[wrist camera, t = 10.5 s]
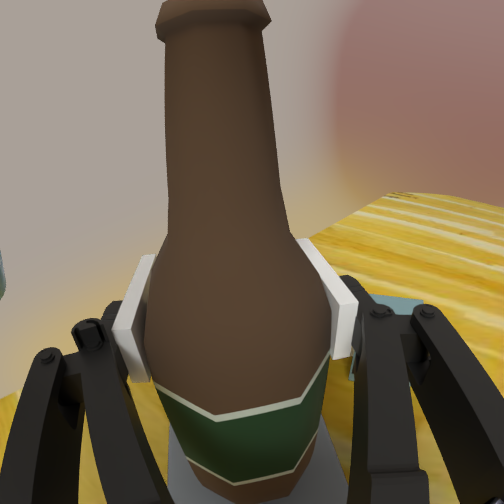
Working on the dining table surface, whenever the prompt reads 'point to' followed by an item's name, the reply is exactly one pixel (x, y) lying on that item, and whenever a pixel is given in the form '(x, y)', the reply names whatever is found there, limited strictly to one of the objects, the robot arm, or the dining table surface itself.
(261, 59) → the beer bottle
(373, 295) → the letter block
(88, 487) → the dining table surface
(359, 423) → the robot arm
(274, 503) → the mat
